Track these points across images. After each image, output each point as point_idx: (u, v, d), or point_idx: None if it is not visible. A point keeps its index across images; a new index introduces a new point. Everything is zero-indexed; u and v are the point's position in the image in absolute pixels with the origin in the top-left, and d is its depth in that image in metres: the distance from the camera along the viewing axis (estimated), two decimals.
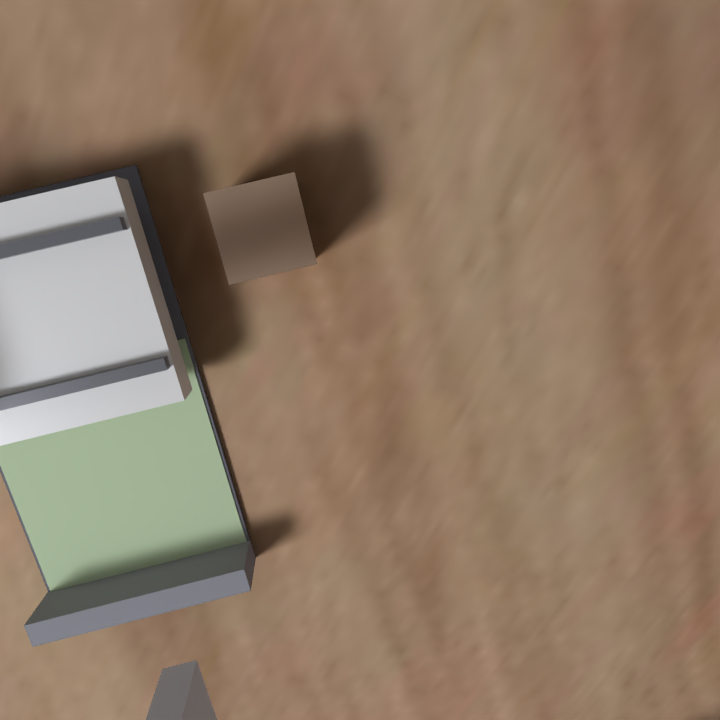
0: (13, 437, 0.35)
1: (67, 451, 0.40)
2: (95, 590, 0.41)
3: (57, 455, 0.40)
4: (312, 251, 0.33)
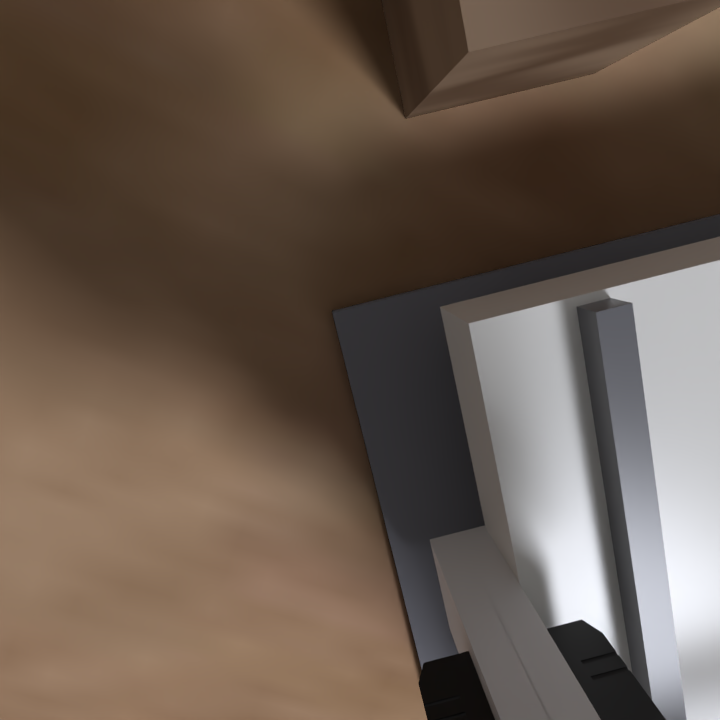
0: None
1: None
2: None
3: None
4: None
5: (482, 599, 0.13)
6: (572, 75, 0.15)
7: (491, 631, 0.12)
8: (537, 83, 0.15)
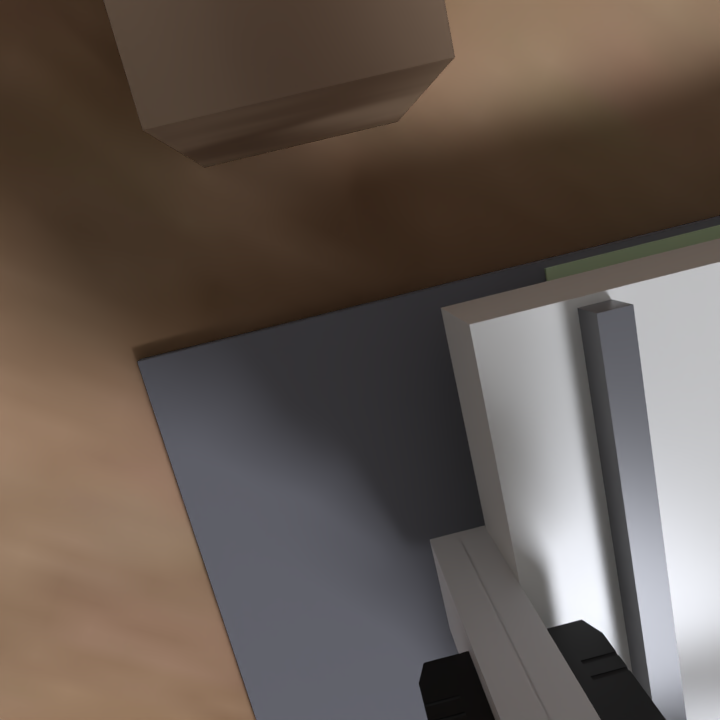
0: None
1: None
2: None
3: None
4: None
5: (482, 599, 0.13)
6: (367, 125, 0.15)
7: (491, 631, 0.12)
8: (330, 133, 0.15)
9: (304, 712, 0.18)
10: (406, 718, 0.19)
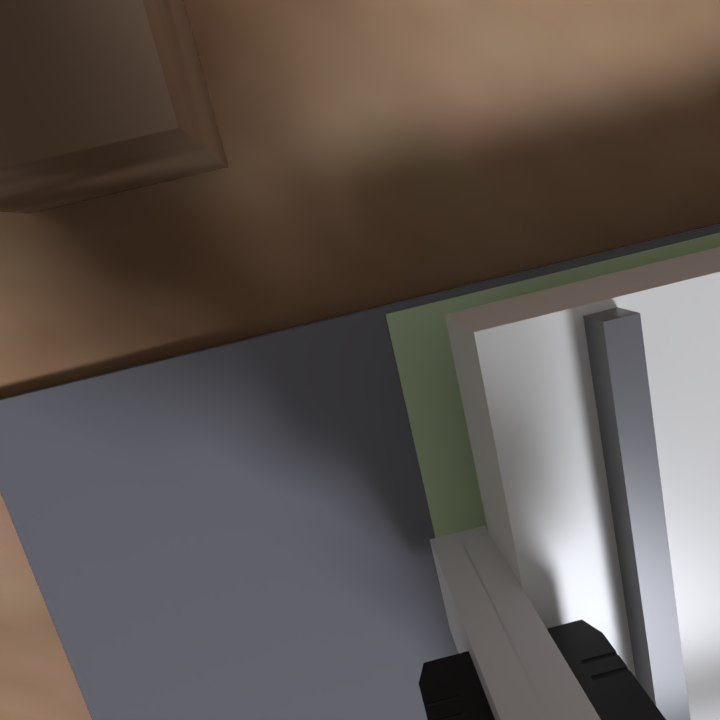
0: None
1: None
2: None
3: None
4: None
5: (482, 599, 0.13)
6: (190, 172, 0.14)
7: (491, 631, 0.12)
8: (151, 181, 0.14)
9: None
10: None
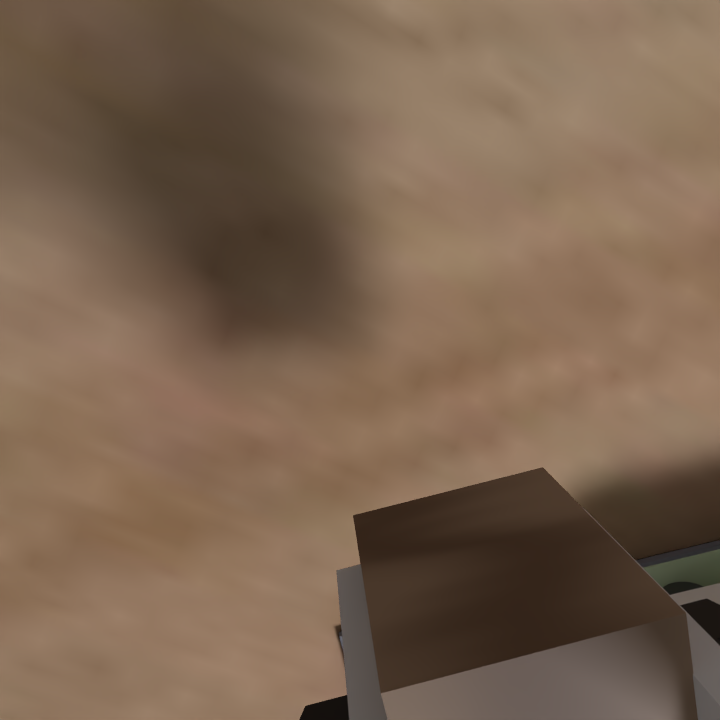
0: None
1: None
2: None
3: None
4: (642, 627, 0.10)
5: None
6: None
7: (370, 675, 0.11)
8: None
9: None
10: None
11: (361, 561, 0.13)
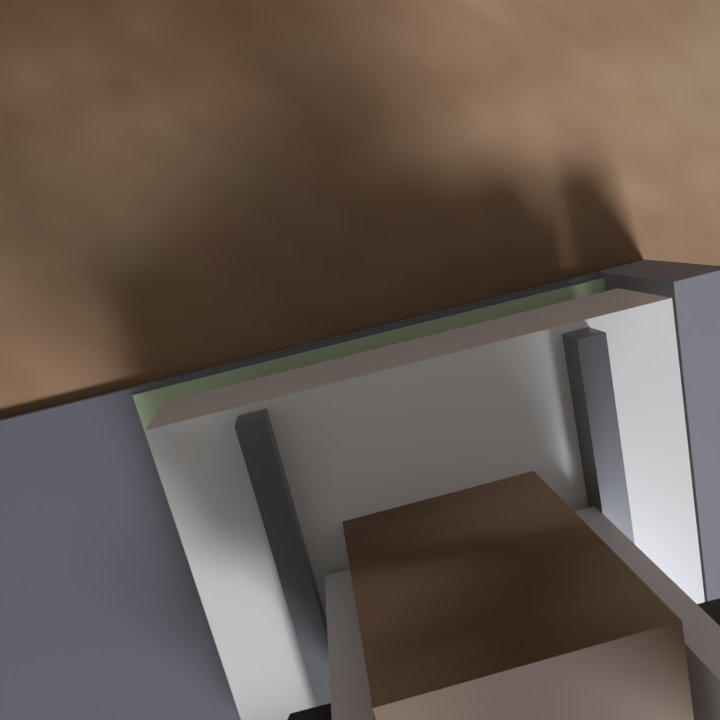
0: None
1: None
2: None
3: None
4: (638, 636, 0.09)
5: None
6: None
7: (354, 683, 0.11)
8: None
9: None
10: None
11: (351, 569, 0.13)
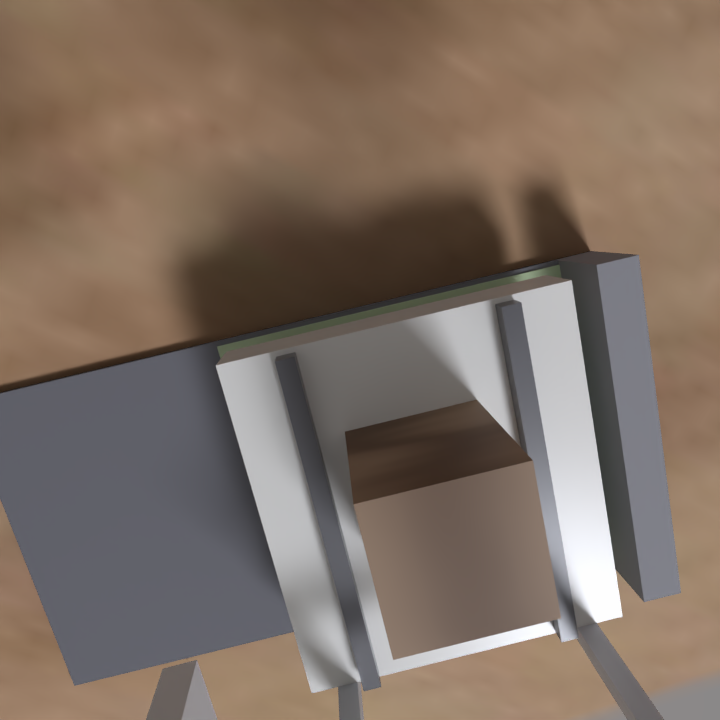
0: (602, 533, 0.24)
1: None
2: (607, 496, 0.27)
3: None
4: (507, 469, 0.16)
5: None
6: None
7: None
8: None
9: (86, 630, 0.28)
10: (155, 636, 0.28)
11: (348, 452, 0.20)
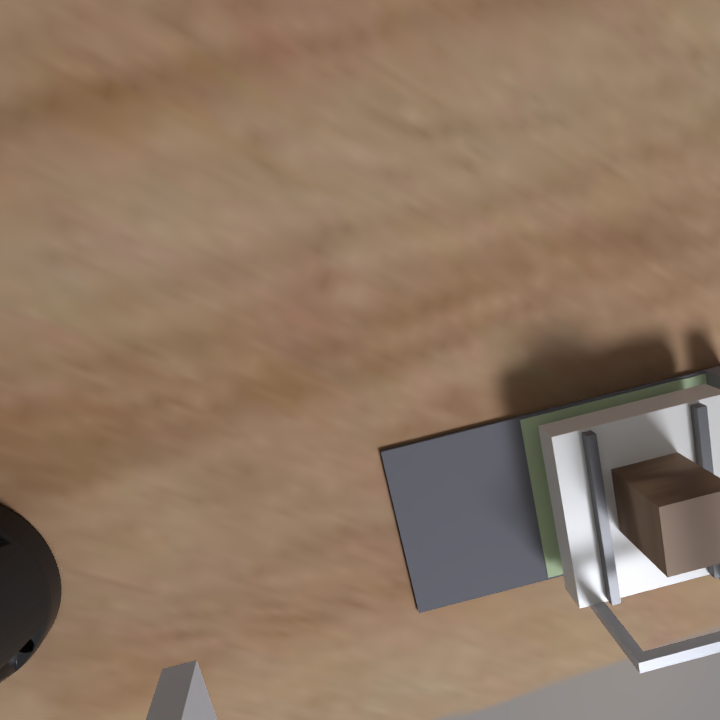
0: None
1: None
2: None
3: None
4: None
5: None
6: None
7: None
8: None
9: (429, 580, 0.49)
10: (467, 583, 0.49)
11: (627, 481, 0.41)
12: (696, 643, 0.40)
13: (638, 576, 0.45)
